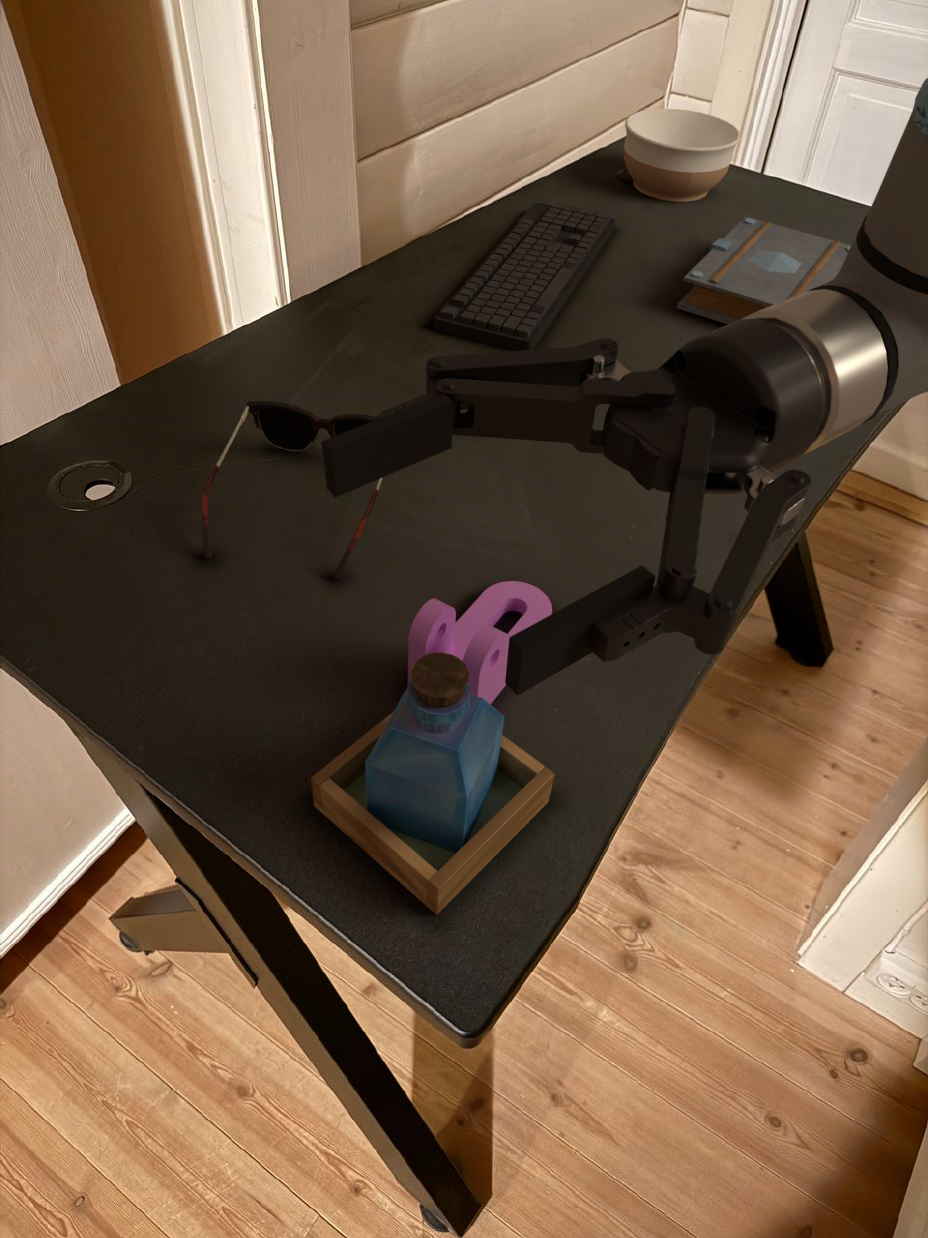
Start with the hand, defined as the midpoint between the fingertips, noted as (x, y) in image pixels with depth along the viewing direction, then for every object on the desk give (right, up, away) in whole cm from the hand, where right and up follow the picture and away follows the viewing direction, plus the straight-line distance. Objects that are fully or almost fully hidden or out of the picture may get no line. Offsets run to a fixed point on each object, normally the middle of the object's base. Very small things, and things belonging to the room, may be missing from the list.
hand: (410, 559), depth 37 cm
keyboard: (+10, +39, +73) cm, 83 cm away
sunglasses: (-12, +7, +40) cm, 42 cm away
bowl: (+32, +60, +95) cm, 117 cm away
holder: (0, -14, +21) cm, 25 cm away
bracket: (+4, -5, +30) cm, 31 cm away
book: (+39, +36, +72) cm, 90 cm away
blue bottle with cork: (0, -14, +20) cm, 24 cm away
